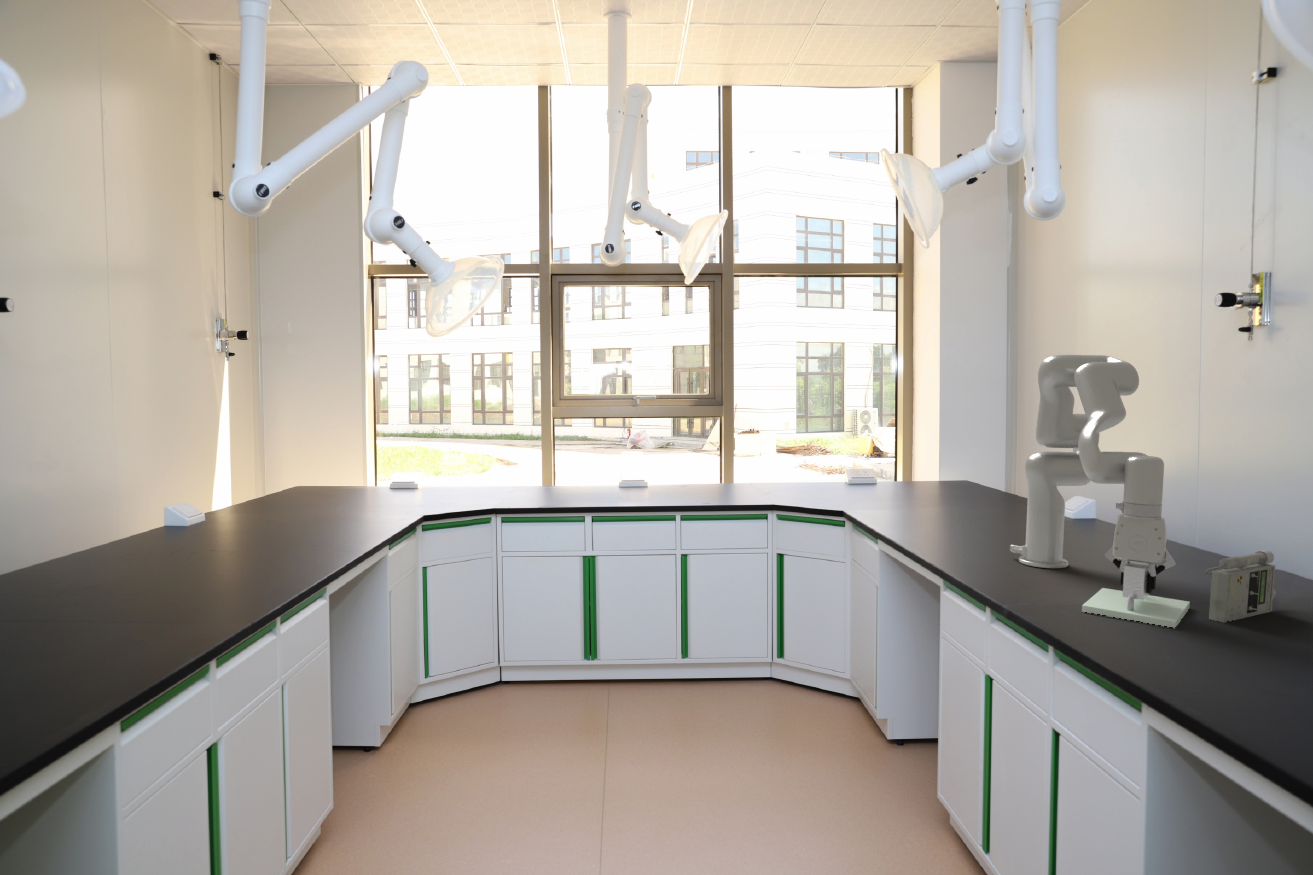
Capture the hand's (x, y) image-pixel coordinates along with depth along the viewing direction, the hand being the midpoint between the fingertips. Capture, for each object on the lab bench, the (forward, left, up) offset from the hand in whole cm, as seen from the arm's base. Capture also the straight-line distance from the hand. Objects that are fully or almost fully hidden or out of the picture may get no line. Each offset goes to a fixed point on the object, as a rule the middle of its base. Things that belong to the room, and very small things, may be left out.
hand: (1137, 589), depth 187 cm
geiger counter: (+19, +14, -5) cm, 24 cm away
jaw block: (0, 0, -1) cm, 1 cm away
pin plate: (0, 0, -5) cm, 5 cm away
